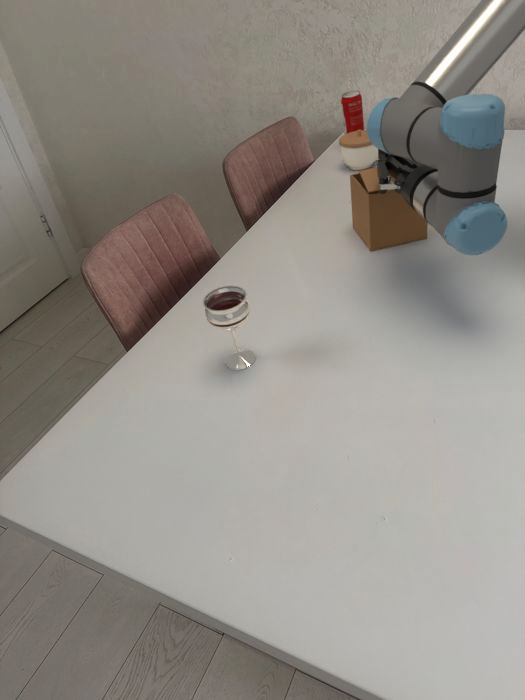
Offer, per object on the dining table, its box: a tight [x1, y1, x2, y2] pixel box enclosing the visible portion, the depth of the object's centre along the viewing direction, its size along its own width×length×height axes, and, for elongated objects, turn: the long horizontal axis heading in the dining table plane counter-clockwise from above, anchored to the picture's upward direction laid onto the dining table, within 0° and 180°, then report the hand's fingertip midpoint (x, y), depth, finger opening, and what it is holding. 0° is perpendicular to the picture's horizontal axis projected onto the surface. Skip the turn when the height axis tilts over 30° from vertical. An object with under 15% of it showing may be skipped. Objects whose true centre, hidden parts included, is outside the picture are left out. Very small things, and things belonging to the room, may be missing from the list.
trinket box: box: [338, 129, 378, 171], centre depth 133 cm, size 11×11×9 cm
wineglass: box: [202, 285, 256, 371], centre depth 77 cm, size 7×7×12 cm
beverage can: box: [340, 90, 365, 135], centre depth 144 cm, size 6×6×15 cm
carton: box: [349, 172, 429, 252], centre depth 101 cm, size 12×12×12 cm
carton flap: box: [358, 166, 395, 193], centre depth 94 cm, size 6×12×1 cm, turn 99°
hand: (381, 150), depth 97 cm, fingers closed
